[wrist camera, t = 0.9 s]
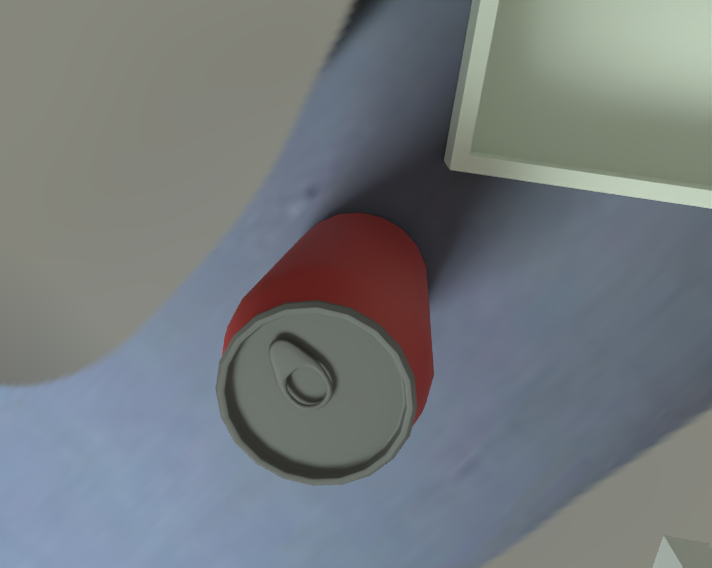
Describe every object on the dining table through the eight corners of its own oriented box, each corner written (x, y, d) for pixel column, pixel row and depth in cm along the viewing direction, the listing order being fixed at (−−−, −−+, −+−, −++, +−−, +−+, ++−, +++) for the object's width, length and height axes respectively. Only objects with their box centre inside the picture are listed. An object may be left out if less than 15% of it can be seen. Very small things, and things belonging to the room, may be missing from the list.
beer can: (379, 182, 25) (347, 235, 14) (454, 300, 26) (483, 440, 15) (263, 257, 27) (149, 361, 15) (339, 366, 28) (285, 537, 17)
